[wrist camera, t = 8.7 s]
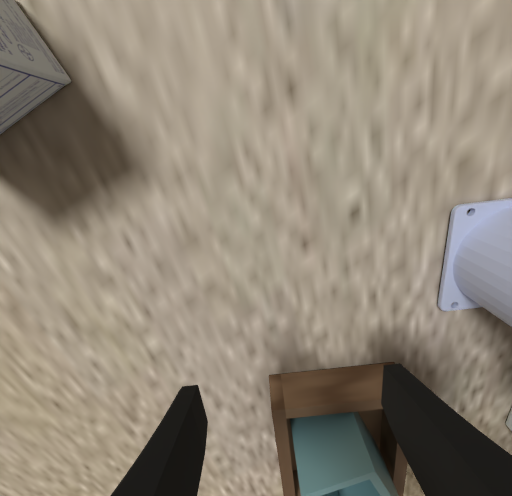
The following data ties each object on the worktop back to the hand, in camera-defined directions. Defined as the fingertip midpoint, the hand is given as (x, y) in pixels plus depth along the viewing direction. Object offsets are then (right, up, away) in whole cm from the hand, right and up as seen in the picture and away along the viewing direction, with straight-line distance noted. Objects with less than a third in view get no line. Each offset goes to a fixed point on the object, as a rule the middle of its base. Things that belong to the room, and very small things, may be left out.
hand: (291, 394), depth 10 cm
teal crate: (+6, -11, +14) cm, 18 cm away
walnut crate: (+6, -10, +14) cm, 19 cm away
